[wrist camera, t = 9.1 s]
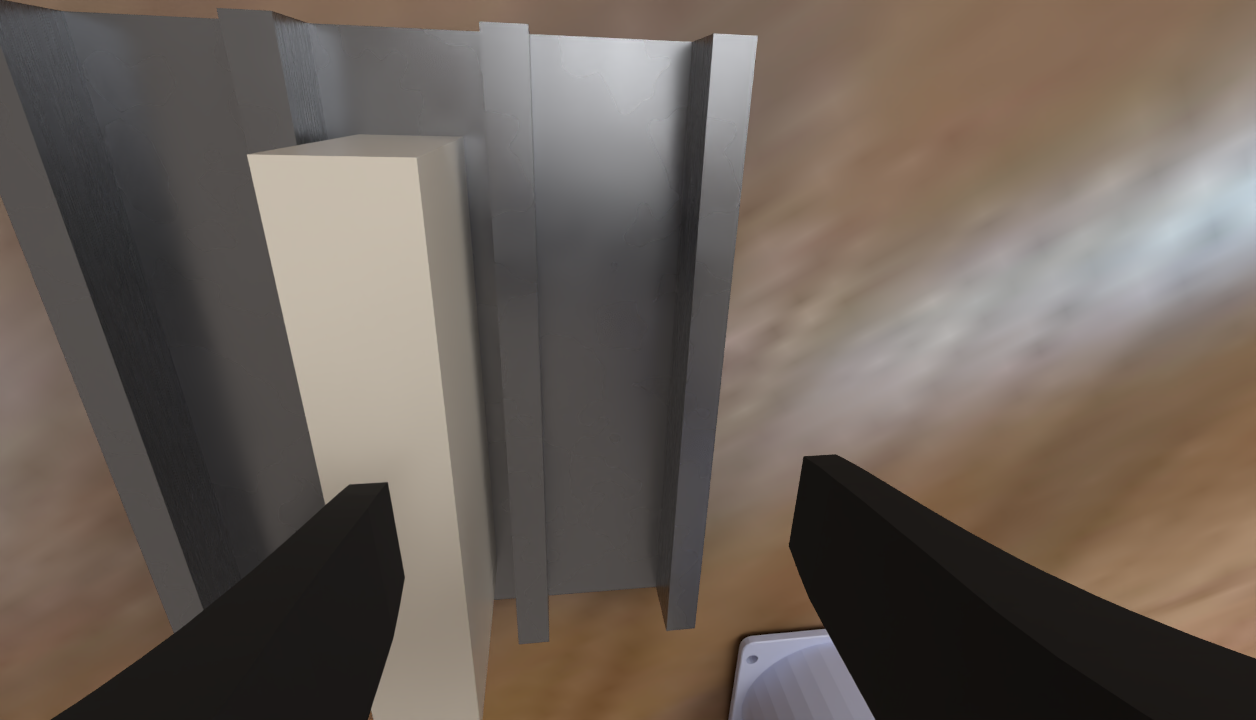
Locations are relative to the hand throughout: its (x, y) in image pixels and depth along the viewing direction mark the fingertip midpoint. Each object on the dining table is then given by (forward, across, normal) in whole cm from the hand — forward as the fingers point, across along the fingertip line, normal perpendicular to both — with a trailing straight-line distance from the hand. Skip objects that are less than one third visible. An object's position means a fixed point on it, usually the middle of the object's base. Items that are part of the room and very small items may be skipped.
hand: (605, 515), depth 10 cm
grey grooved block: (+9, +4, +1) cm, 10 cm away
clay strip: (+8, +4, +1) cm, 9 cm away
